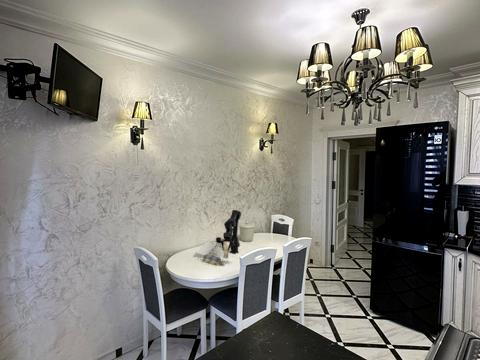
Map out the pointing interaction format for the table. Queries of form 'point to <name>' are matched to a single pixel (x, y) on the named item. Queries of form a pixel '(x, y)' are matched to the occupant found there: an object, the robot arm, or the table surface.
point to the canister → (246, 231)
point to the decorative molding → (205, 249)
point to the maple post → (225, 250)
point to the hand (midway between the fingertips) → (225, 250)
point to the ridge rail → (212, 260)
